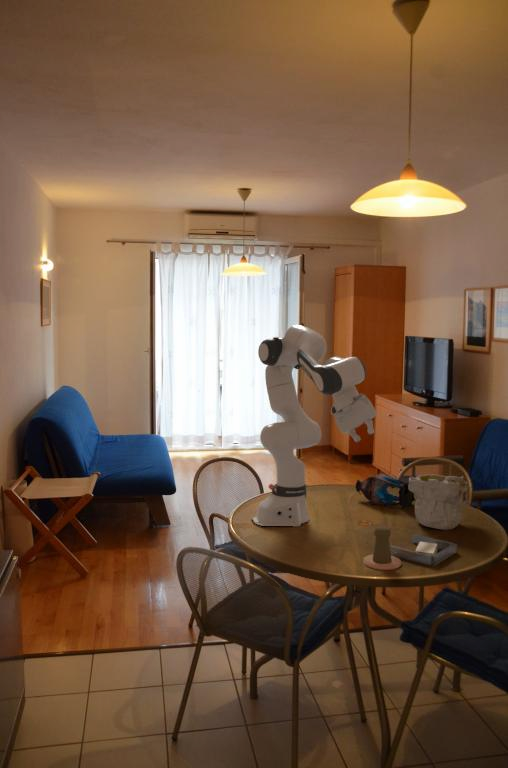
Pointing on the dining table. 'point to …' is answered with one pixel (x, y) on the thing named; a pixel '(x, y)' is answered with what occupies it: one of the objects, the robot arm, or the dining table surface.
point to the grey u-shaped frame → (446, 552)
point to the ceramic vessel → (439, 500)
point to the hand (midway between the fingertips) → (365, 437)
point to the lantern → (385, 491)
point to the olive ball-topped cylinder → (382, 546)
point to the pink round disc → (390, 566)
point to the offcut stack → (427, 548)
